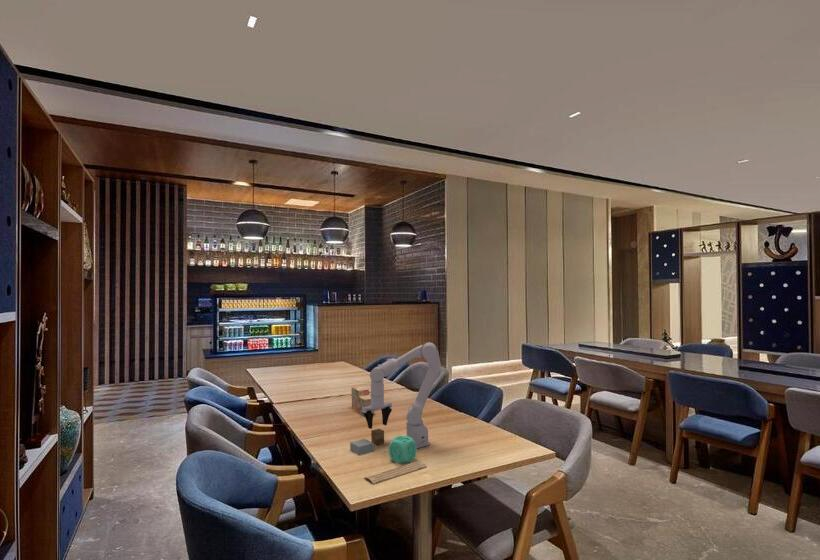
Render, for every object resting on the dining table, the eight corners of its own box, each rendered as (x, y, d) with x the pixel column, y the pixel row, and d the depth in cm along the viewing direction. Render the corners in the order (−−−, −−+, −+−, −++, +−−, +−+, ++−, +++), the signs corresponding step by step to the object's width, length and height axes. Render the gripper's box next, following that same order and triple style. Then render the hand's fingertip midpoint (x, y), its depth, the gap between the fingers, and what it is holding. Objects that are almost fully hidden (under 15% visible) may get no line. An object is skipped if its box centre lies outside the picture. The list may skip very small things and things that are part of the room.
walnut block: (384, 443, 185) (384, 430, 185) (376, 445, 183) (376, 432, 183) (379, 441, 188) (378, 428, 189) (371, 443, 186) (371, 430, 186)
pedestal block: (373, 451, 176) (373, 442, 177) (359, 455, 172) (359, 446, 172) (364, 446, 182) (364, 438, 182) (350, 450, 178) (350, 442, 178)
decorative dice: (401, 454, 172) (401, 434, 172) (417, 459, 167) (417, 438, 167) (388, 460, 166) (388, 439, 166) (404, 465, 161) (403, 444, 161)
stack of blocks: (374, 415, 230) (374, 392, 230) (363, 417, 227) (363, 393, 227) (361, 406, 249) (361, 385, 249) (351, 407, 246) (351, 386, 247)
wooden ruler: (373, 486, 144) (373, 481, 145) (362, 479, 150) (362, 474, 150) (426, 469, 159) (426, 464, 159) (415, 463, 164) (415, 458, 164)
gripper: (385, 391, 194) (385, 421, 194) (358, 396, 185) (358, 427, 185) (394, 393, 189) (395, 424, 188) (367, 398, 180) (367, 431, 179)
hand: (377, 426), depth 186 cm, fingers open, 7 cm apart
